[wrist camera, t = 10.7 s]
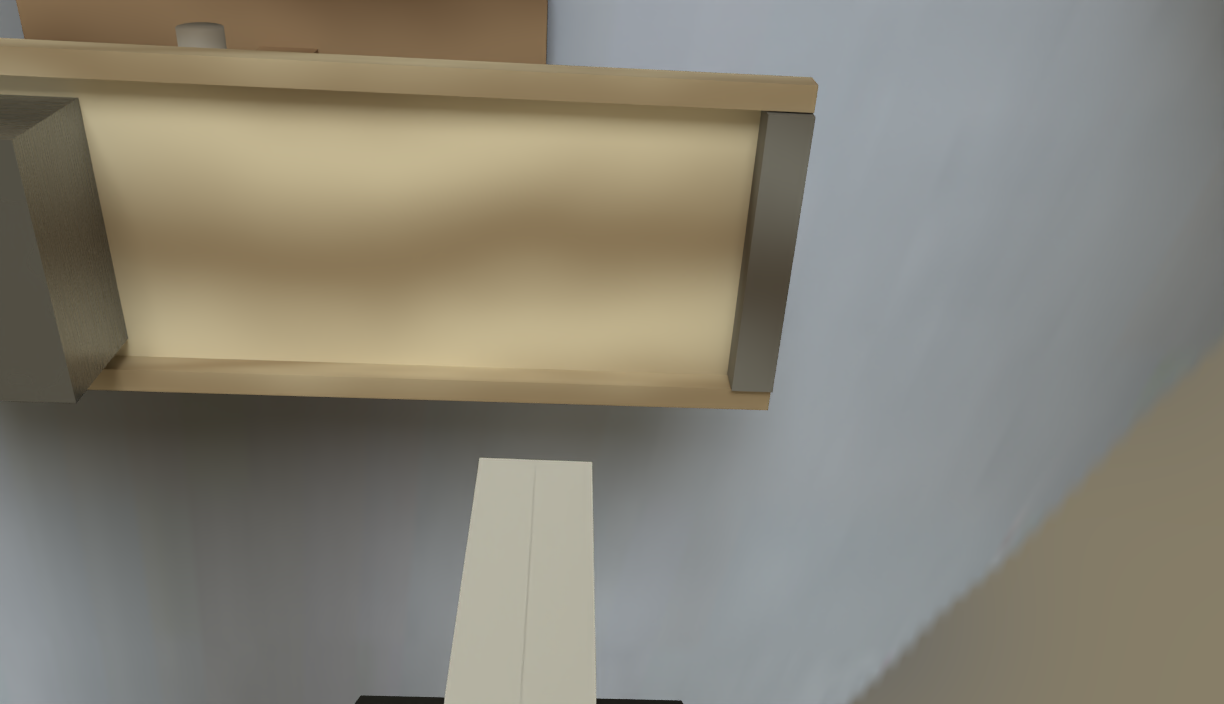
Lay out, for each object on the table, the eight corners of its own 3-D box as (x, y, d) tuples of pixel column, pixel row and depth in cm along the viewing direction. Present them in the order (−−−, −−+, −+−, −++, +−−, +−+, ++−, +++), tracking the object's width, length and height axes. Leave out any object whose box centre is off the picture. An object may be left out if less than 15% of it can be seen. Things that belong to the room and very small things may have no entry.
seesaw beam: (-423, -10, 26) (-542, 15, 23) (796, 51, 28) (820, 81, 25) (-278, 330, 31) (-362, 384, 28) (751, 363, 33) (768, 418, 30)
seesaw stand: (23, -48, 35) (-133, 1, 27) (548, -21, 36) (543, 34, 28) (81, 224, 40) (-37, 331, 32) (542, 240, 41) (536, 348, 33)
